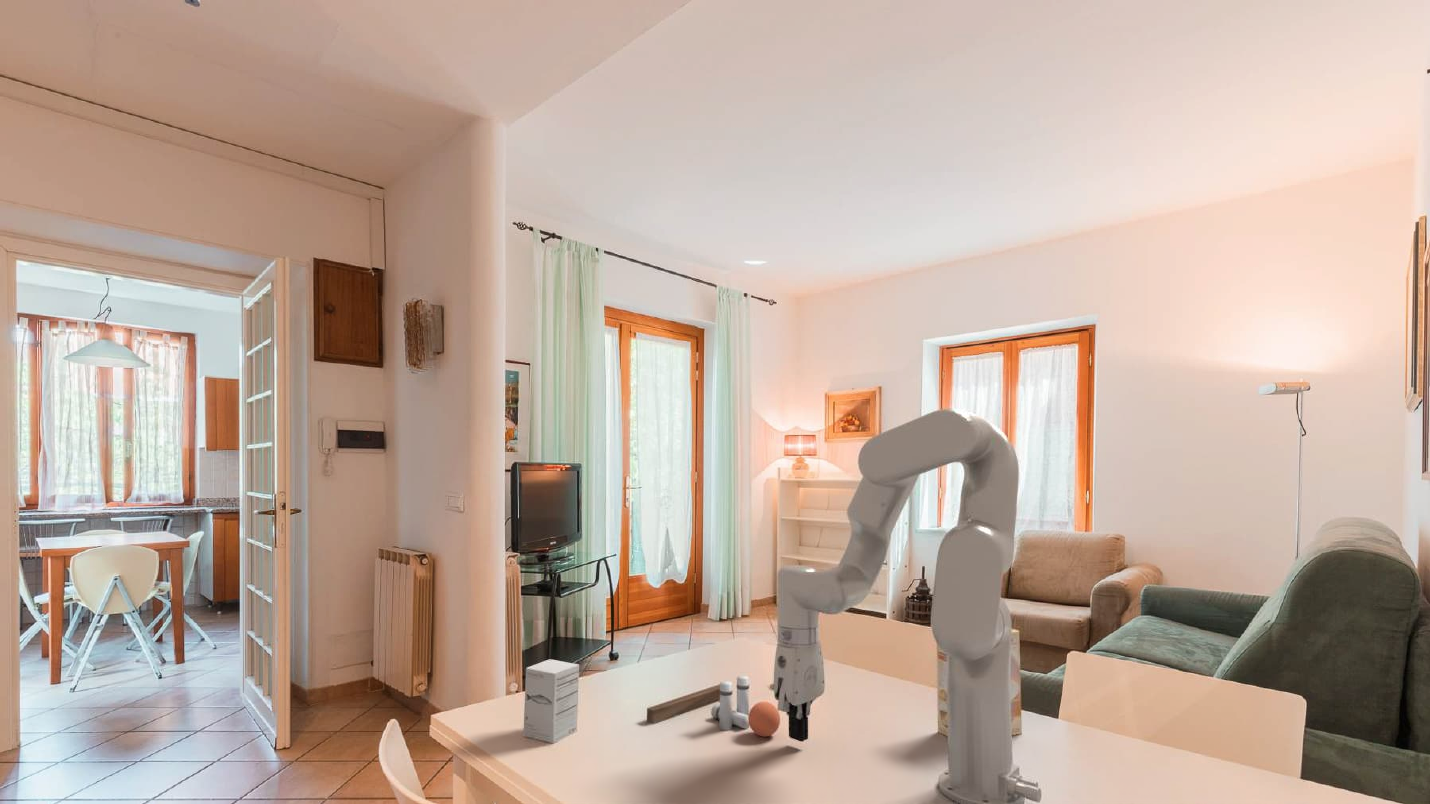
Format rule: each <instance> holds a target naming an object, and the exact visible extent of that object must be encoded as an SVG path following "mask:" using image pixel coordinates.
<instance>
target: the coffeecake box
mask: <svg viewBox="0 0 1430 804" xmlns="http://www.w3.org/2000/svg"><path fill="white" fill-rule="evenodd" d="M1020 647H1021V645H1020V630H1018V629H1015V628H1012V633H1011V657H1010V678H1011V725H1012V735H1013V736H1018V735H1022V734H1023V730H1022V729H1023V726H1022V725H1023V724H1022V723H1023V721H1022V691H1021V690H1022V687H1021V686H1022V685H1021V683H1022V682H1021V652H1020V651H1021V650H1020V649H1021V648H1020ZM936 683H937V684H936V689H937V691H936V693H937V732H938V733H939V734H941V735H944V736H946V737H947V738H948V724H947V654H946V653H945V652H944V651H943V650H942V649H941V648H940V647H939V645H938V644H937V643H936ZM1016 734H1017V735H1016Z"/></svg>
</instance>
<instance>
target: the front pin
mask: <svg viewBox="0 0 1430 804" xmlns="http://www.w3.org/2000/svg"><path fill="white" fill-rule="evenodd" d="M710 715H711V717H712V718H715V719H717V720H719V721H720V704H714V705H713V706H712V707H711V712H710ZM732 726H737V727H740V728H742V729H745V730H746V729H748V728H749V727H750V725H749V716H748V715H745V714H742V713H739V712H737V710H733V709H732Z"/></svg>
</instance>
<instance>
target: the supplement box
mask: <svg viewBox="0 0 1430 804" xmlns="http://www.w3.org/2000/svg"><path fill="white" fill-rule="evenodd" d="M579 678H580V664H578V663H572V662H568V661H567V662H566V661H561V660H556V659H551V658H550V659H547V660H543V661H541V662H538V663H536V664H533V665H531V666H528V667H526V668H525V682H524V683H525V684H524V685H525V688H524V689H525V690H524V710H523V711H524V712H523V733H522V735H523V737H524V738H525V737H526V738H530V739H535V740H539V741H543V742H547V743H550V744H552V745H553V744H555V743H557V742H559V741H561V740H563V739H565V738H566V736H567V737H569V736H570V734H571V735H572V734H574V733H576V732H577V730H578V714H579V712H578V711H579V709H578V707H579V706H578V705H579V683H580V682H579V681H580V679H579ZM575 731H576V732H575ZM573 732H574V733H573ZM568 735H569V736H568Z"/></svg>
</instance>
